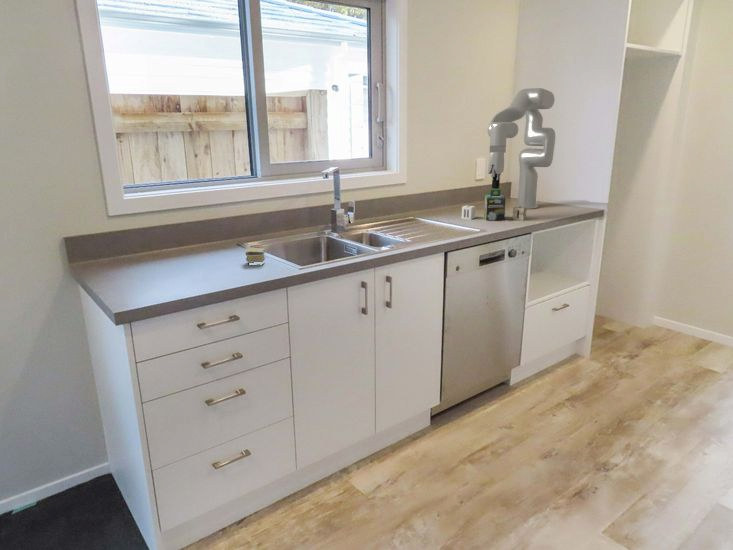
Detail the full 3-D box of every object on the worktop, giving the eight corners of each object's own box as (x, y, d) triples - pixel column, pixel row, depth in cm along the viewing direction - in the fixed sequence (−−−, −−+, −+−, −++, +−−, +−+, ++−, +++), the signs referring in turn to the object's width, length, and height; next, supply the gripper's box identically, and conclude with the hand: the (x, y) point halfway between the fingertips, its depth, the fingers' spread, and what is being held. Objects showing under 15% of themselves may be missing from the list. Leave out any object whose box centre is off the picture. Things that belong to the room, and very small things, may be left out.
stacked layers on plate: (271, 261, 189) (270, 246, 188) (267, 267, 181) (265, 252, 179) (244, 261, 189) (242, 247, 188) (238, 268, 181) (237, 253, 179)
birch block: (515, 218, 258) (516, 205, 256) (525, 218, 255) (526, 206, 254) (512, 219, 254) (513, 207, 252) (522, 220, 251) (523, 208, 249)
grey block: (465, 217, 263) (465, 205, 261) (474, 218, 260) (475, 206, 258) (461, 218, 259) (461, 206, 257) (470, 219, 256) (471, 207, 254)
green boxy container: (502, 217, 260) (503, 187, 256) (505, 220, 252) (506, 190, 247) (483, 217, 261) (484, 187, 257) (485, 220, 252) (487, 190, 248)
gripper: (495, 148, 255) (493, 186, 260) (484, 150, 243) (482, 189, 248) (510, 148, 251) (508, 187, 256) (500, 150, 239) (497, 190, 244)
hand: (495, 188), depth 252 cm, fingers closed
